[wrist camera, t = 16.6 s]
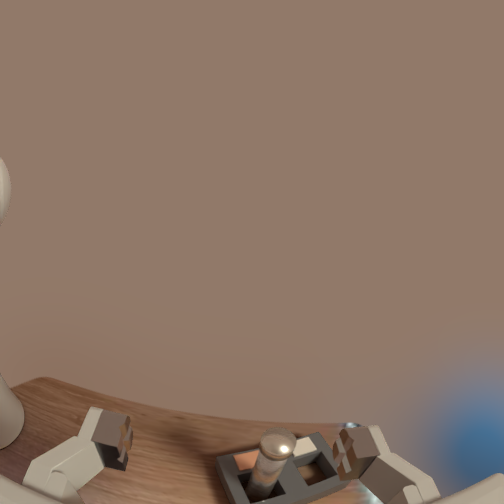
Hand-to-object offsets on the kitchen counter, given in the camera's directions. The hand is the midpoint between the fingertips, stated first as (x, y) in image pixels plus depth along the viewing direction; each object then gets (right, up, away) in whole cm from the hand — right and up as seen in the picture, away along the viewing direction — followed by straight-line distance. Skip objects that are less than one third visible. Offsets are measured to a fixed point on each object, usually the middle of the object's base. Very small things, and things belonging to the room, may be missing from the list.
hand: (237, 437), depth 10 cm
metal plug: (+1, -25, +21) cm, 33 cm away
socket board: (+5, -25, +24) cm, 34 cm away
